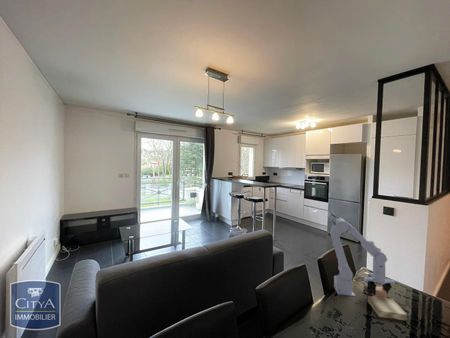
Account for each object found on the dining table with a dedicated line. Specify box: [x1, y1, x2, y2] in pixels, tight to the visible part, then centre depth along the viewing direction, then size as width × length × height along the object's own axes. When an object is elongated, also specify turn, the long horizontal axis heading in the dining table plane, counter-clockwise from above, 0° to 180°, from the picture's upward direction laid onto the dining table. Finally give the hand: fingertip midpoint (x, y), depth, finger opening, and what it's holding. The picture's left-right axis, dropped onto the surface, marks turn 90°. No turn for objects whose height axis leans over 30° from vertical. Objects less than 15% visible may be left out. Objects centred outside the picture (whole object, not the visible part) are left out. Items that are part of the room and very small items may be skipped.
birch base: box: [367, 295, 408, 321], centre depth 103 cm, size 12×12×3 cm
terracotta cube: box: [371, 285, 388, 298], centre depth 114 cm, size 5×5×5 cm
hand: (379, 294), depth 114 cm, fingers closed on terracotta cube, 5 cm apart
